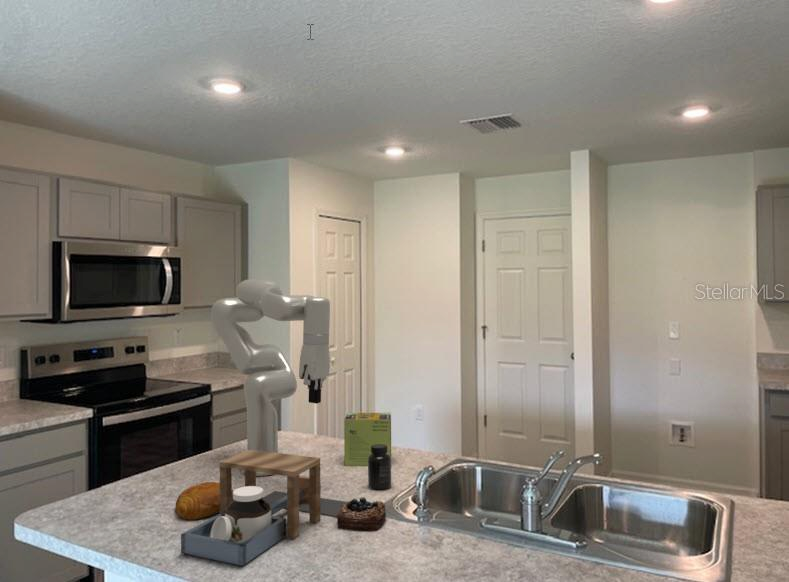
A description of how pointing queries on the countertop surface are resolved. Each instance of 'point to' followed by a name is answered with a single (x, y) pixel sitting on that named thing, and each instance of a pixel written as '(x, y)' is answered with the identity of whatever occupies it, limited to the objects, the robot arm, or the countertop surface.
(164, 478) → the countertop surface
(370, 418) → the protein box
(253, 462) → the walnut table
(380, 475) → the supplement bottle
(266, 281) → the robot arm
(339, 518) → the pastry
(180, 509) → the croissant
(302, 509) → the pit mat
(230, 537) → the spread jar
